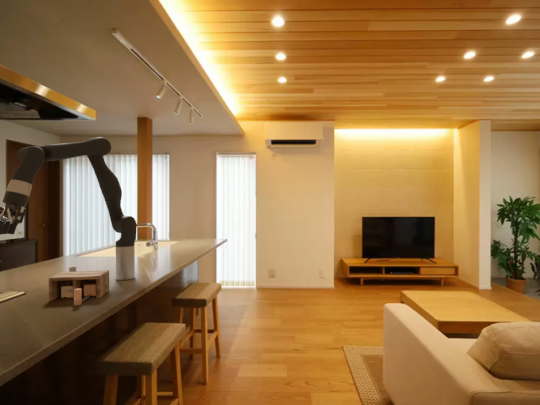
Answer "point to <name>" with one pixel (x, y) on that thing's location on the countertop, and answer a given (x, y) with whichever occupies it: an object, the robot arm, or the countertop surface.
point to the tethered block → (85, 293)
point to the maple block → (67, 290)
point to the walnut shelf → (79, 282)
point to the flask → (72, 269)
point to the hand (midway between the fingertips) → (3, 233)
